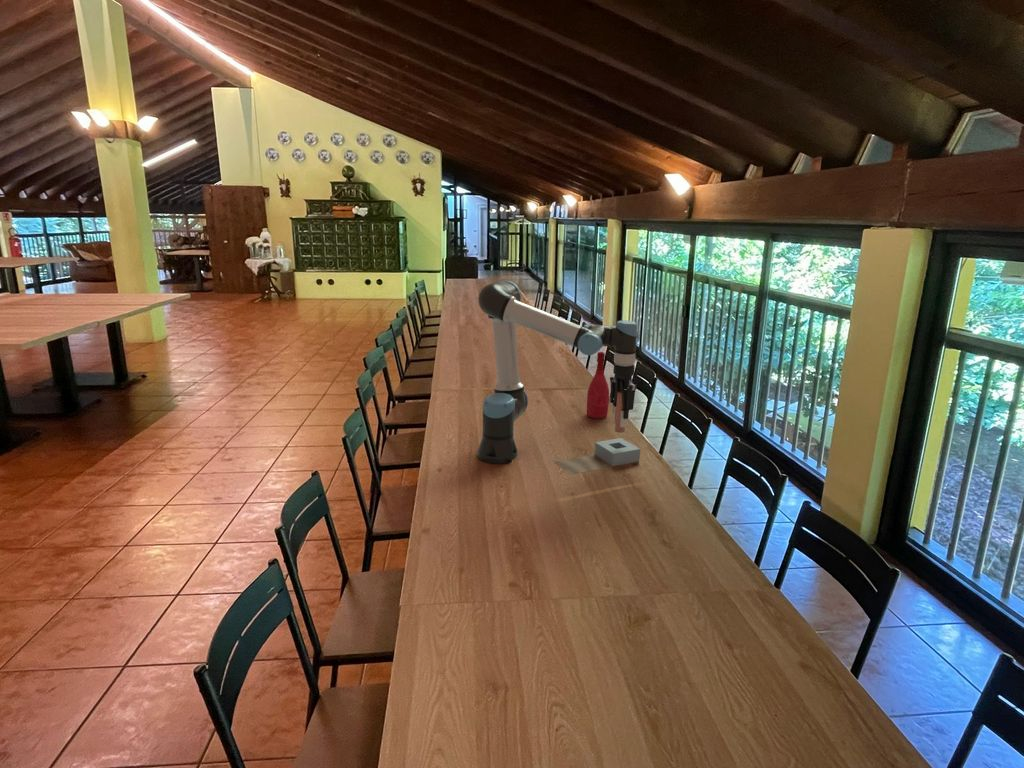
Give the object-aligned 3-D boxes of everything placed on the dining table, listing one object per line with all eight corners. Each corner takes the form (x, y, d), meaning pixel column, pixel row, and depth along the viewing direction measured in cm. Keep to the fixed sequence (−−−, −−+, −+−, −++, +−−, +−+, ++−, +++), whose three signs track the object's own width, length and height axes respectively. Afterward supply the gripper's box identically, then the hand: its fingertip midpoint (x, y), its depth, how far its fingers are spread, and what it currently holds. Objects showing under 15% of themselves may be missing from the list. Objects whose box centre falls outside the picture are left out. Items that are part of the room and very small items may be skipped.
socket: (612, 466, 226) (613, 453, 224) (594, 454, 236) (595, 442, 234) (639, 461, 231) (640, 448, 229) (620, 449, 241) (621, 437, 240)
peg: (618, 433, 228) (621, 394, 224) (612, 430, 231) (615, 391, 227) (626, 431, 229) (629, 393, 225) (620, 428, 232) (623, 390, 228)
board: (570, 477, 218) (570, 474, 218) (553, 464, 228) (553, 461, 228) (638, 463, 231) (639, 461, 231) (619, 452, 241) (620, 449, 241)
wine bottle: (590, 420, 277) (595, 355, 268) (582, 413, 286) (586, 350, 277) (611, 418, 279) (616, 354, 271) (602, 411, 288) (606, 349, 280)
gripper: (647, 368, 217) (642, 430, 224) (619, 357, 232) (615, 416, 238) (629, 370, 214) (625, 433, 221) (602, 359, 228) (599, 419, 235)
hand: (620, 424), depth 229 cm, fingers closed on peg, 3 cm apart
